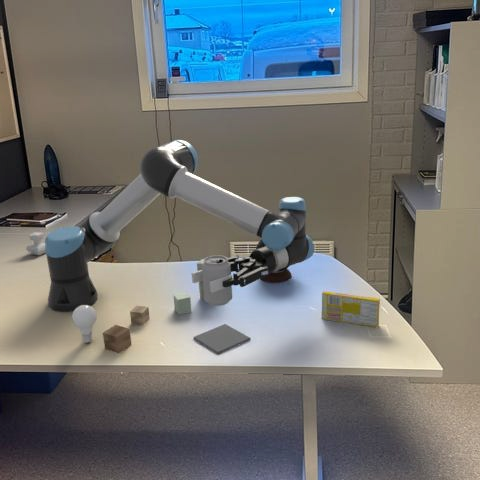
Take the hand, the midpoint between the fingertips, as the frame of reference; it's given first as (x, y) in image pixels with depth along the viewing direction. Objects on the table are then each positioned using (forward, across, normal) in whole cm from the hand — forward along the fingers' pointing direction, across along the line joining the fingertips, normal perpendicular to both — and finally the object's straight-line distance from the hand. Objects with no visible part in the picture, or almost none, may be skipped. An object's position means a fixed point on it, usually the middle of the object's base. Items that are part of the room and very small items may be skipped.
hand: (201, 282), depth 144 cm
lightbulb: (+23, +24, -18) cm, 38 cm away
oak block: (+6, +25, -18) cm, 32 cm away
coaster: (-5, 0, -18) cm, 19 cm away
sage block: (-7, +22, -18) cm, 30 cm away
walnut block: (+18, +16, -18) cm, 30 cm away
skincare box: (-19, +24, -19) cm, 36 cm away
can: (-5, 0, -7) cm, 9 cm away
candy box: (-38, -17, -19) cm, 46 cm away
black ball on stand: (-45, +22, -19) cm, 54 cm away
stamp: (+7, +104, -18) cm, 106 cm away
